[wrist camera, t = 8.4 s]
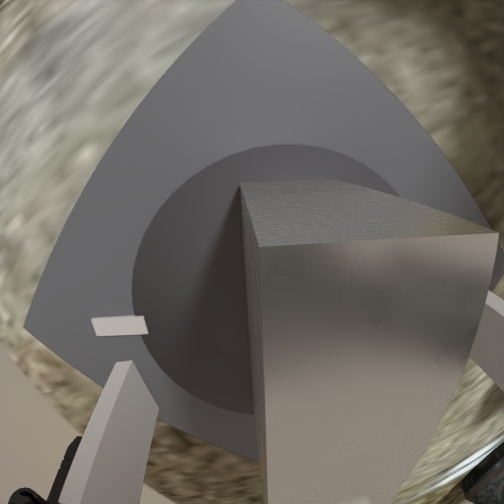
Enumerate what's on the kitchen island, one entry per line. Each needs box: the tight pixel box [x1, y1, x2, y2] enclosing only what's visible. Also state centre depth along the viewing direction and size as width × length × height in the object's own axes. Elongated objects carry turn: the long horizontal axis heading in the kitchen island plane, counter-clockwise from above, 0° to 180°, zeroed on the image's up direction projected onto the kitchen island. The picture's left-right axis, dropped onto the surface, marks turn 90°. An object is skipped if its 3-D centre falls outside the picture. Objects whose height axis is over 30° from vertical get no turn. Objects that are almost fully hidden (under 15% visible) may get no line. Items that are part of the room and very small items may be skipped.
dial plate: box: [24, 0, 504, 462], centre depth 15 cm, size 22×22×2 cm
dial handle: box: [240, 179, 499, 504], centre depth 10 cm, size 12×4×10 cm, turn 3°
